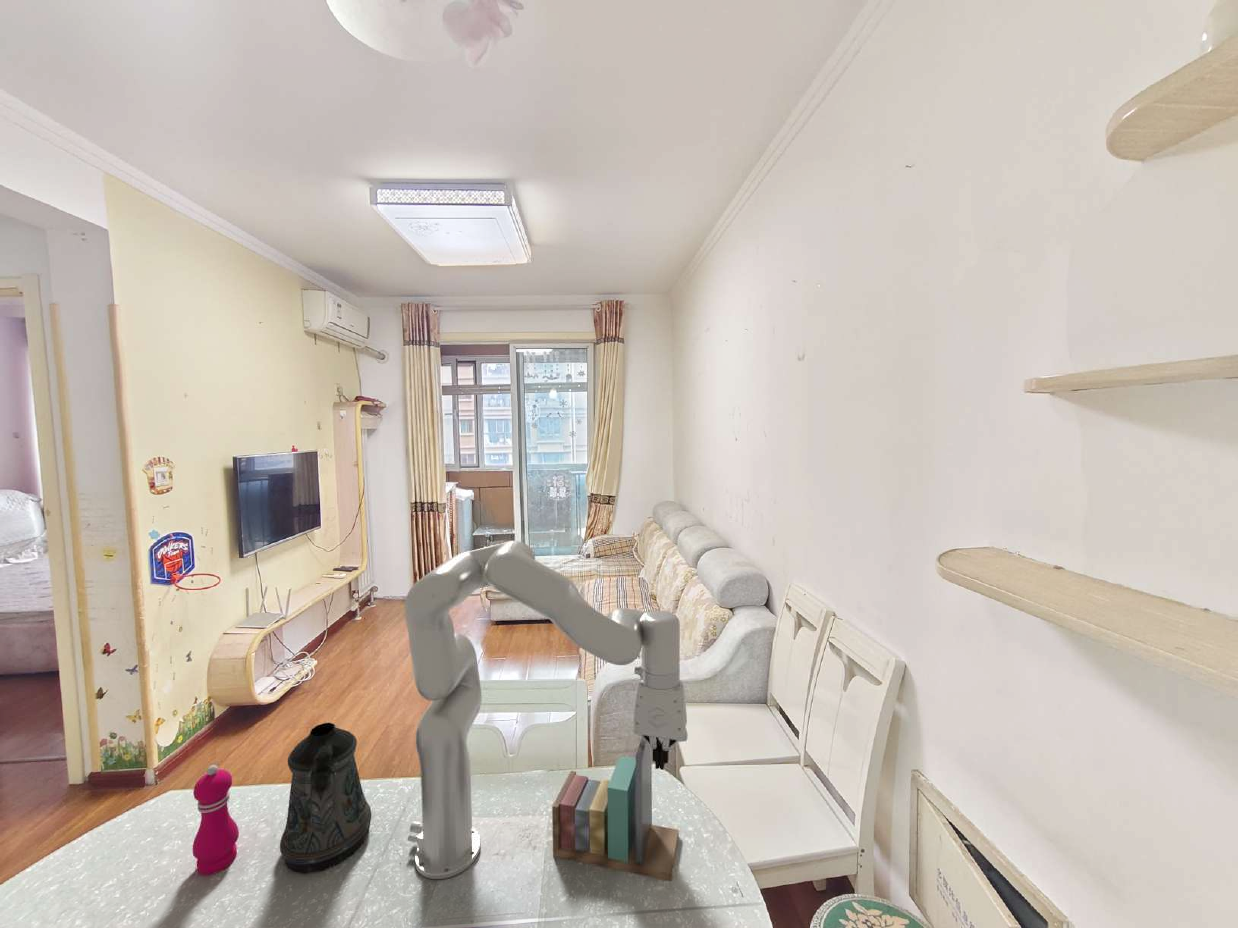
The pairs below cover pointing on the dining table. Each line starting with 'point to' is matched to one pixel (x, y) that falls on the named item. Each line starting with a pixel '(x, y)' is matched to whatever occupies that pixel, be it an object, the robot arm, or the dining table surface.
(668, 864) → the book rack
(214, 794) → the pepper mill
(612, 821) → the loose book
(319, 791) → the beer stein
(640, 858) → the bookend
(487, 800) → the dining table surface
